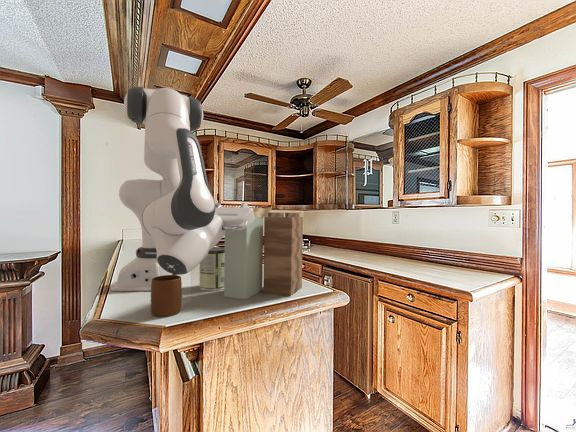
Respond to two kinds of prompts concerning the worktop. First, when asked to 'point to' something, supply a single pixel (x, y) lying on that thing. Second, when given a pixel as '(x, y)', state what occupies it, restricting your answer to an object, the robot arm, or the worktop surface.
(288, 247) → the brown wooden block
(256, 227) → the shelf block
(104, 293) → the worktop surface
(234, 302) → the worktop surface
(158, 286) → the mug
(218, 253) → the coffee can
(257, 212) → the tan wooden bar
